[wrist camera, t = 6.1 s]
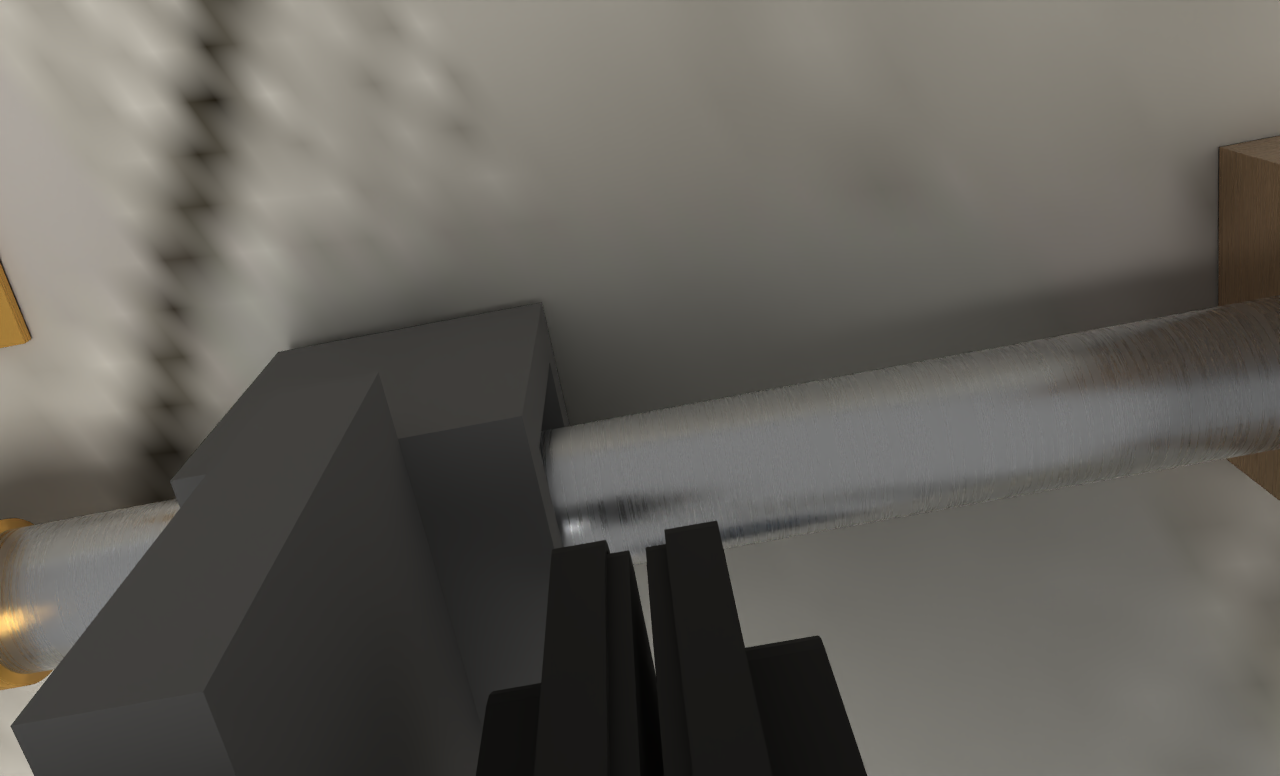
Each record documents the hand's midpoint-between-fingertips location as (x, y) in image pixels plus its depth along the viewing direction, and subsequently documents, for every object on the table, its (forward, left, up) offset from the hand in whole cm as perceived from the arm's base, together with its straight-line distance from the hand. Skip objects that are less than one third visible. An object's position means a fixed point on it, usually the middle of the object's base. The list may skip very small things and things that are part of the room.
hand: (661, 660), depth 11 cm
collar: (+3, 0, -7) cm, 7 cm away
